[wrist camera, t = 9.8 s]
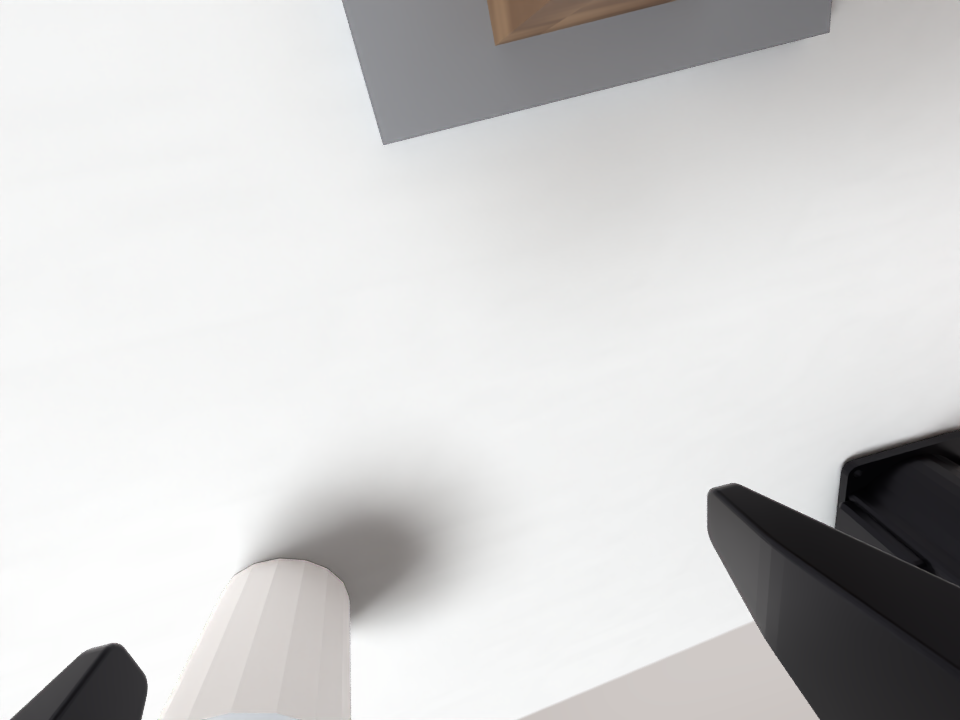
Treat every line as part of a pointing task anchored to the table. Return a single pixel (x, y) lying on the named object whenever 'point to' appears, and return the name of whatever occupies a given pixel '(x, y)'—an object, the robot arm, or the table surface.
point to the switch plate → (545, 54)
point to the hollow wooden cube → (553, 15)
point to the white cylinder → (271, 649)
